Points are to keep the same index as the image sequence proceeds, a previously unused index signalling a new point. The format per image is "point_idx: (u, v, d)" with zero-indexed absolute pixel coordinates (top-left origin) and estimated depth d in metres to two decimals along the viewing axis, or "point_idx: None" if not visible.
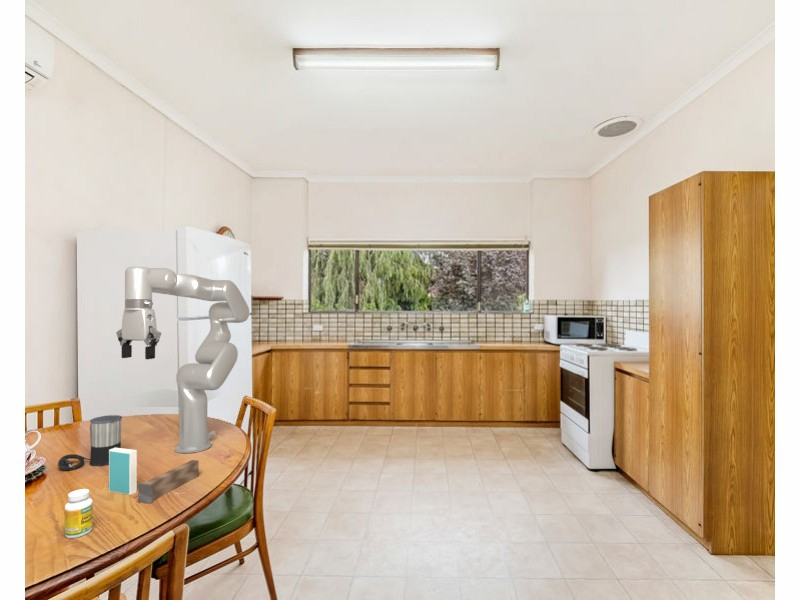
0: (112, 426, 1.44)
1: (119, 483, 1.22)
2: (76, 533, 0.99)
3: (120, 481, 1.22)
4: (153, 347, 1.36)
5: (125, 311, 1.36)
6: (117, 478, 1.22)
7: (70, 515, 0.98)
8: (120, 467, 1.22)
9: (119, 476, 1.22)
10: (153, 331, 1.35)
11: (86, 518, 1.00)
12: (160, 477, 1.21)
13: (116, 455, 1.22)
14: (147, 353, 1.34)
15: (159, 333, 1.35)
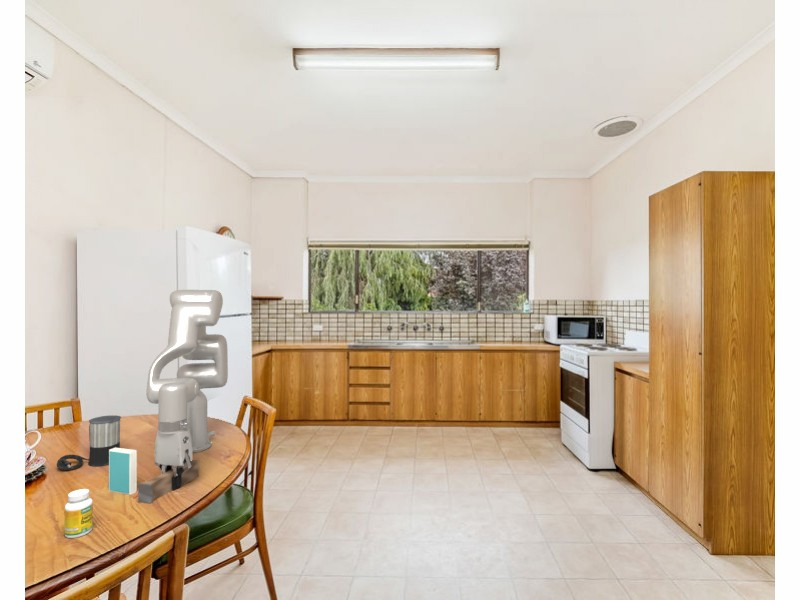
0: (111, 426, 1.44)
1: (119, 483, 1.22)
2: (76, 533, 0.99)
3: (120, 481, 1.22)
4: (180, 476, 1.25)
5: (158, 433, 1.24)
6: (117, 478, 1.22)
7: (70, 515, 0.98)
8: (120, 467, 1.22)
9: (119, 476, 1.22)
10: (185, 462, 1.23)
11: (86, 518, 1.00)
12: (160, 477, 1.21)
13: (116, 455, 1.22)
14: (173, 483, 1.24)
15: (189, 467, 1.24)
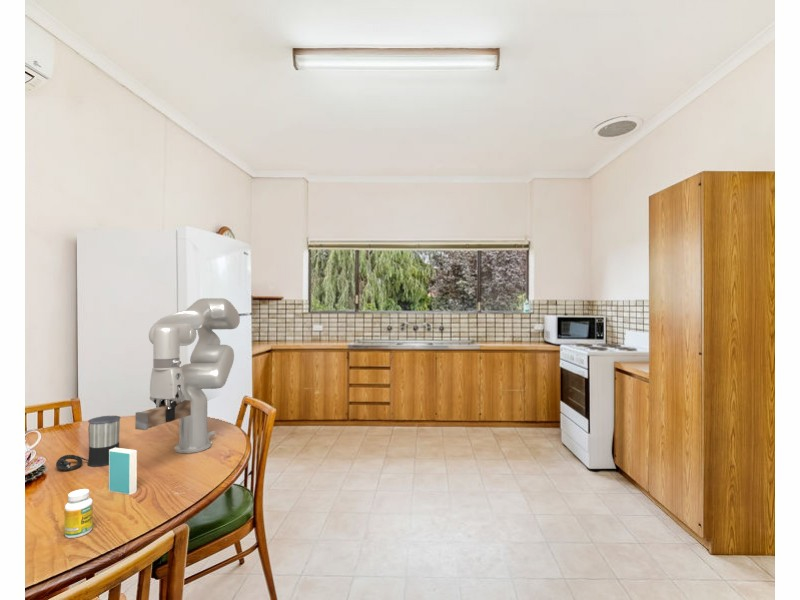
0: (110, 426, 1.44)
1: (119, 483, 1.22)
2: (76, 533, 0.99)
3: (120, 481, 1.22)
4: (173, 409, 1.37)
5: (153, 370, 1.37)
6: (117, 478, 1.22)
7: (70, 515, 0.98)
8: (120, 467, 1.22)
9: (119, 476, 1.22)
10: (177, 396, 1.36)
11: (86, 518, 1.00)
12: (155, 409, 1.33)
13: (116, 455, 1.22)
14: (167, 416, 1.36)
15: (181, 400, 1.36)
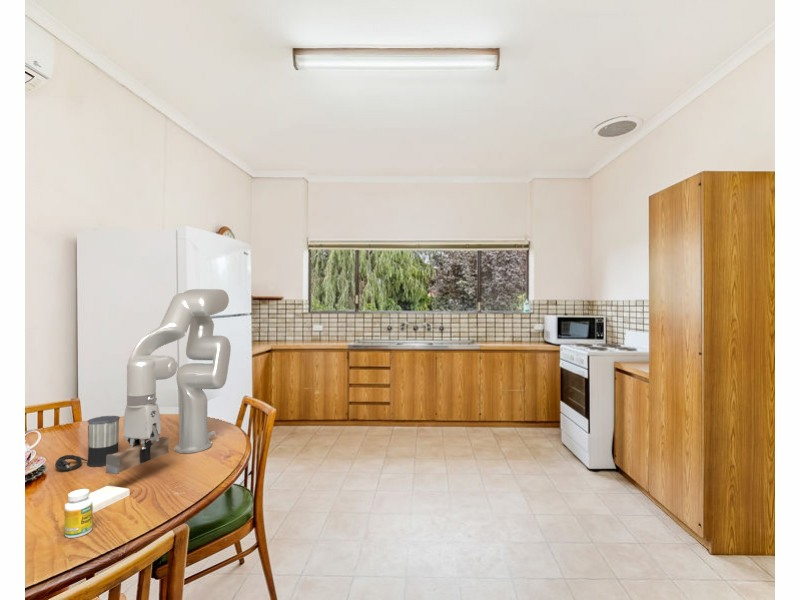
0: (110, 426, 1.44)
1: None
2: (76, 533, 0.99)
3: None
4: (148, 449, 1.28)
5: (127, 407, 1.28)
6: None
7: (70, 515, 0.98)
8: None
9: None
10: (152, 435, 1.27)
11: (86, 518, 1.00)
12: (128, 450, 1.24)
13: None
14: (142, 456, 1.27)
15: (157, 440, 1.27)
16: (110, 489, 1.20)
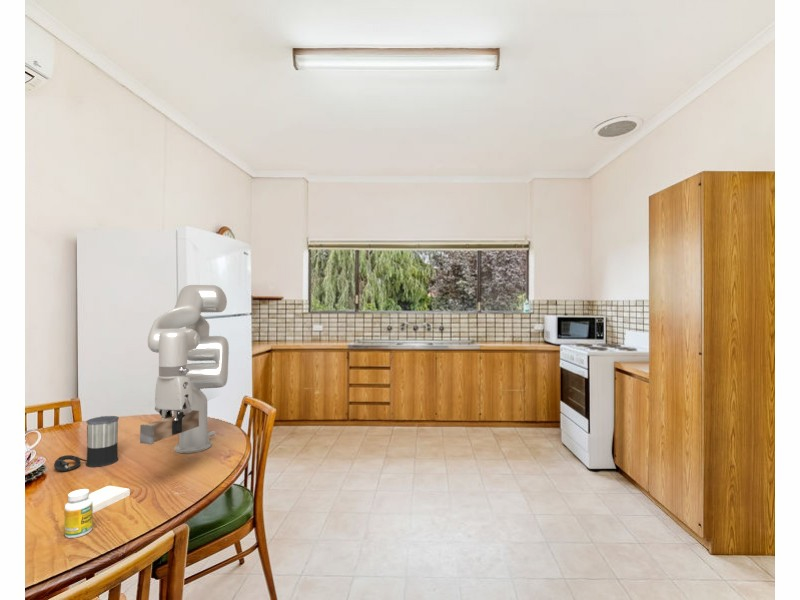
0: (109, 426, 1.43)
1: None
2: (76, 533, 0.99)
3: None
4: (180, 421, 1.27)
5: (159, 379, 1.27)
6: None
7: (70, 515, 0.98)
8: None
9: None
10: (185, 406, 1.26)
11: (86, 518, 1.00)
12: (161, 421, 1.24)
13: None
14: (174, 428, 1.26)
15: (189, 411, 1.26)
16: (110, 489, 1.20)
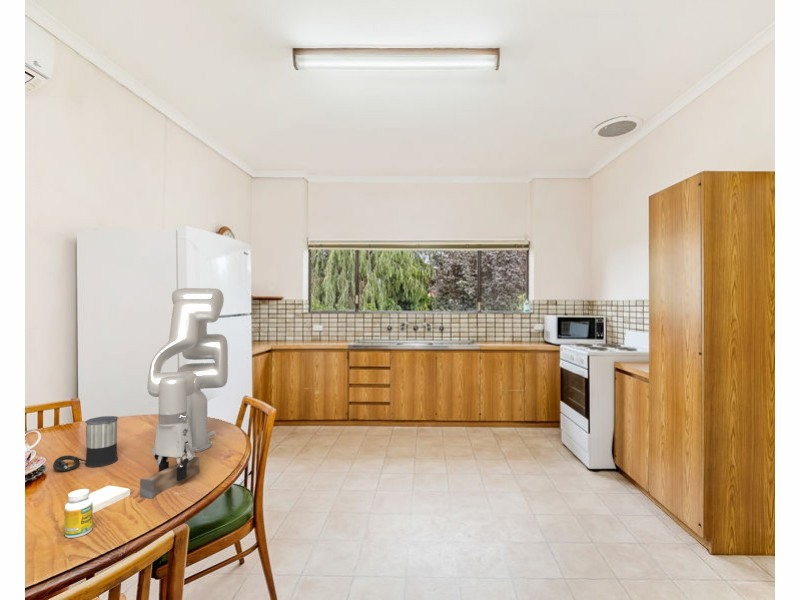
0: (108, 427, 1.43)
1: None
2: (76, 533, 0.99)
3: None
4: (185, 467, 1.27)
5: (159, 425, 1.27)
6: None
7: (70, 515, 0.98)
8: None
9: None
10: (187, 451, 1.26)
11: (86, 518, 1.00)
12: (161, 473, 1.24)
13: None
14: (179, 474, 1.26)
15: (193, 455, 1.26)
16: (110, 489, 1.20)
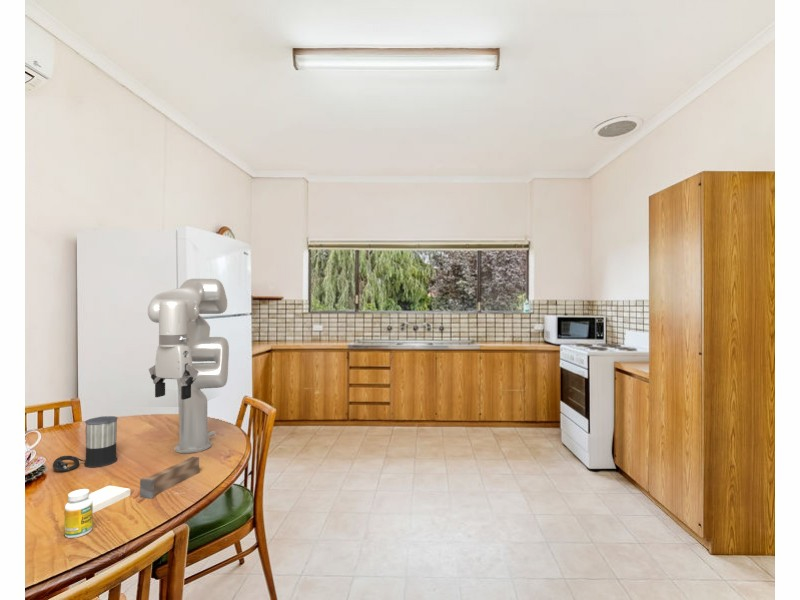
0: (107, 427, 1.43)
1: None
2: (76, 533, 0.99)
3: None
4: (189, 386, 1.27)
5: (159, 347, 1.27)
6: None
7: (70, 515, 0.98)
8: None
9: None
10: (189, 370, 1.26)
11: (86, 518, 1.00)
12: (161, 473, 1.24)
13: None
14: (183, 393, 1.25)
15: (196, 371, 1.26)
16: (111, 489, 1.20)
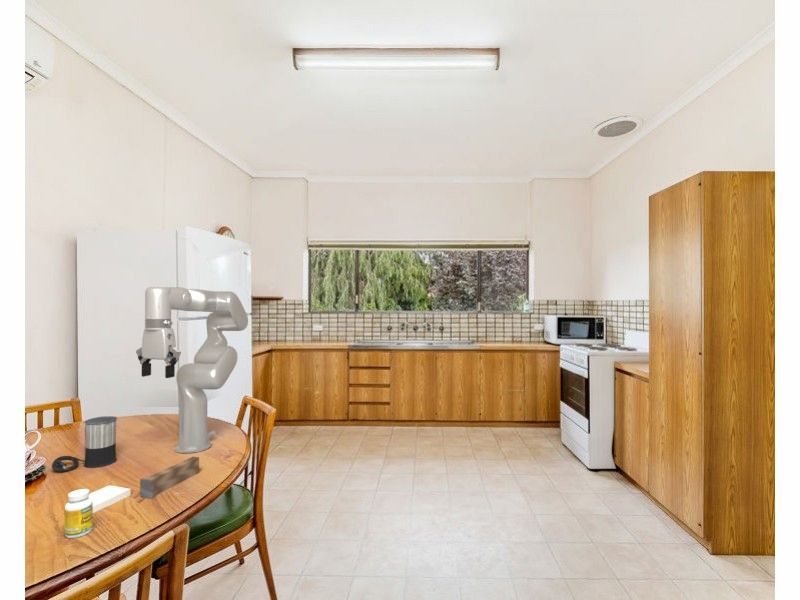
0: (107, 427, 1.43)
1: None
2: (76, 533, 0.99)
3: None
4: (173, 366, 1.38)
5: (145, 330, 1.38)
6: None
7: (70, 515, 0.98)
8: None
9: None
10: (173, 351, 1.37)
11: (86, 518, 1.00)
12: (161, 473, 1.24)
13: None
14: (167, 372, 1.37)
15: (179, 352, 1.37)
16: (111, 489, 1.20)
